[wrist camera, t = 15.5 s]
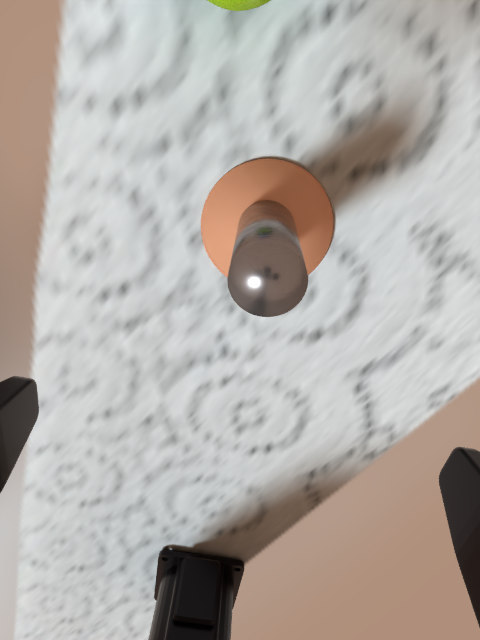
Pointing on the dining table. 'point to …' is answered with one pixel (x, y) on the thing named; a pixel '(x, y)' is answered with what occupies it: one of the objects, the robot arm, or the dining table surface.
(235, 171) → the marker disc
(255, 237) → the steel peg
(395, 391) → the dining table surface
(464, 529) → the robot arm
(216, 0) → the rainbow petal ball
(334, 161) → the dining table surface
